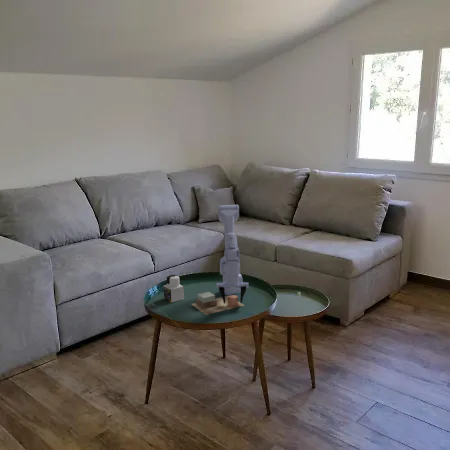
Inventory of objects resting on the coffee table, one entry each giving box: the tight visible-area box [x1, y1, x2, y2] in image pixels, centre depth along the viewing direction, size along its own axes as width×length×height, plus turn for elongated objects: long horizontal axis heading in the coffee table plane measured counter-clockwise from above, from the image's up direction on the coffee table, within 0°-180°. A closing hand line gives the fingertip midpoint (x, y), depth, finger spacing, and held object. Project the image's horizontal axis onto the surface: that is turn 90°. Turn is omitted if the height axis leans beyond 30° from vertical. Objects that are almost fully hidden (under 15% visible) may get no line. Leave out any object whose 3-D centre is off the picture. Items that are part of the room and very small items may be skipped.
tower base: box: [195, 298, 217, 309], centre depth 226 cm, size 7×7×2 cm
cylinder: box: [227, 294, 239, 308], centre depth 224 cm, size 5×5×4 cm
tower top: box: [197, 291, 216, 303], centre depth 225 cm, size 6×6×2 cm
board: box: [191, 295, 245, 316], centre depth 226 cm, size 20×15×1 cm
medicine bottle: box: [163, 274, 185, 303], centre depth 234 cm, size 7×7×12 cm
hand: (232, 302), depth 224 cm, fingers open, 7 cm apart
